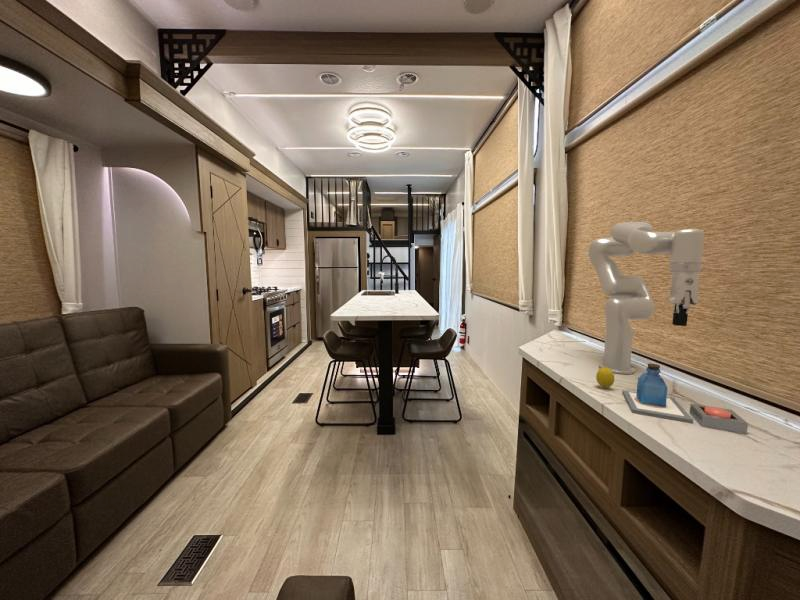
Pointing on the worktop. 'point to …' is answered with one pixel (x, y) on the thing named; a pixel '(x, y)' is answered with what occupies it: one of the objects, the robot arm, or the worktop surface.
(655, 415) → the board
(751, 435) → the worktop surface
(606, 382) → the lemon
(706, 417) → the button base
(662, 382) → the perfume bottle
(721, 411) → the button
